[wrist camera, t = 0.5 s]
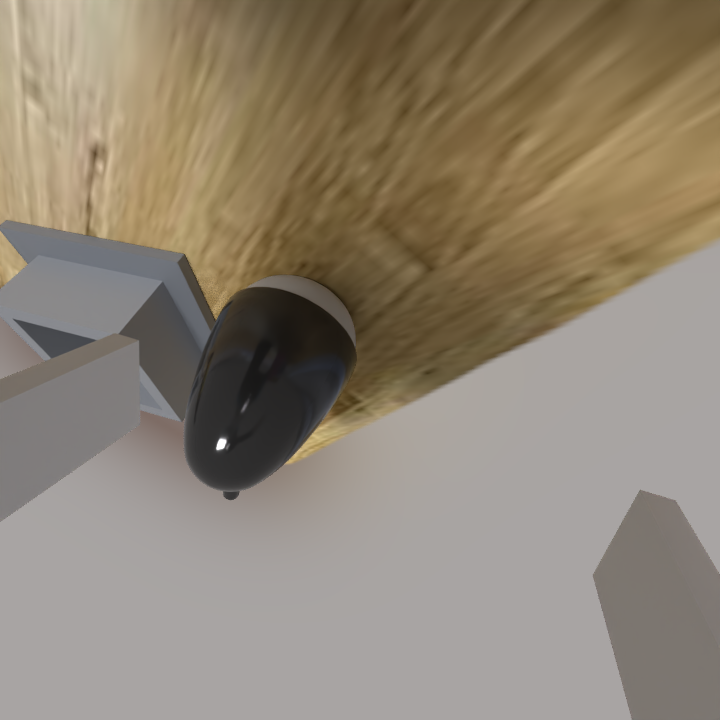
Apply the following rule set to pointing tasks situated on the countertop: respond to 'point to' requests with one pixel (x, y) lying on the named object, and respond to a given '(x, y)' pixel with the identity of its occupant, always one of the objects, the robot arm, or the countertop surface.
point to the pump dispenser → (266, 380)
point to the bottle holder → (110, 306)
